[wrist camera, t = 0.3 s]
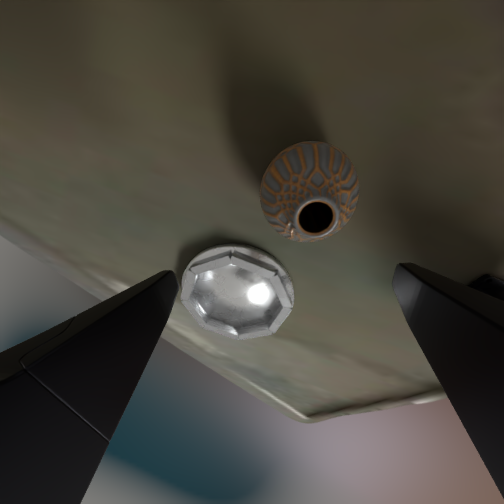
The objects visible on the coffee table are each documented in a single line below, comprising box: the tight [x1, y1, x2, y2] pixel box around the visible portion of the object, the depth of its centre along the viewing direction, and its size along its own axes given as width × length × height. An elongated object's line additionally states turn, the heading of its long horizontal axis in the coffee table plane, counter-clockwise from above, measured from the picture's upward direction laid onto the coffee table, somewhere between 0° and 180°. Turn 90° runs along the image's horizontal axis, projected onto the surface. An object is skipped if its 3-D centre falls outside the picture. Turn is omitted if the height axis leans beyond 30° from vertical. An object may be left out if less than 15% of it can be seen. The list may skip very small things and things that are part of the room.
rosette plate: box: [180, 243, 294, 340], centre depth 25 cm, size 14×14×2 cm
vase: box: [260, 141, 359, 242], centre depth 15 cm, size 7×7×9 cm
